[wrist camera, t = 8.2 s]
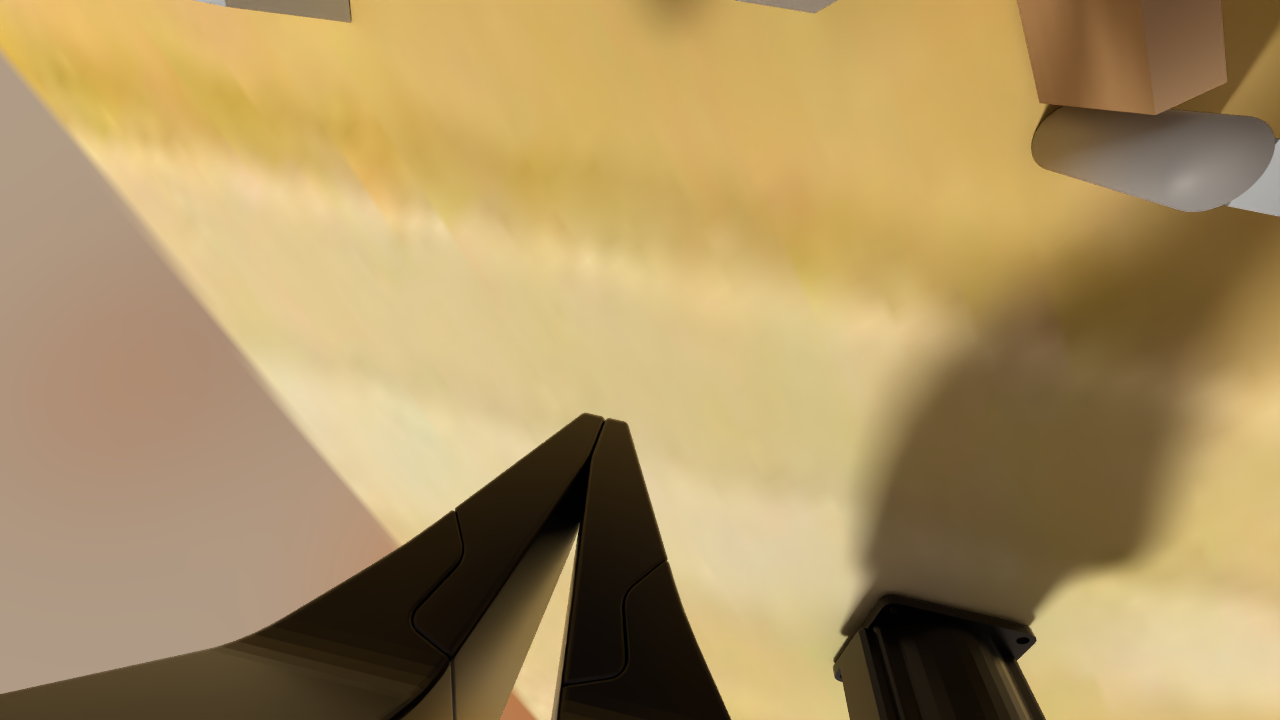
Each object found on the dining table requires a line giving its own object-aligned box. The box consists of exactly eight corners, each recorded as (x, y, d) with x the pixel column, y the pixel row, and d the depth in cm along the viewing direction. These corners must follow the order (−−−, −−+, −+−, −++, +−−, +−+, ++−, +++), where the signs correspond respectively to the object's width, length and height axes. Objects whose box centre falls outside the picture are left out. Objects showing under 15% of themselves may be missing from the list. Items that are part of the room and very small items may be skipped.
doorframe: (1212, 126, 12) (1435, 151, 8) (1166, 193, 13) (1349, 244, 9) (270, -57, 13) (84, -109, 9) (282, 17, 14) (117, -3, 10)
